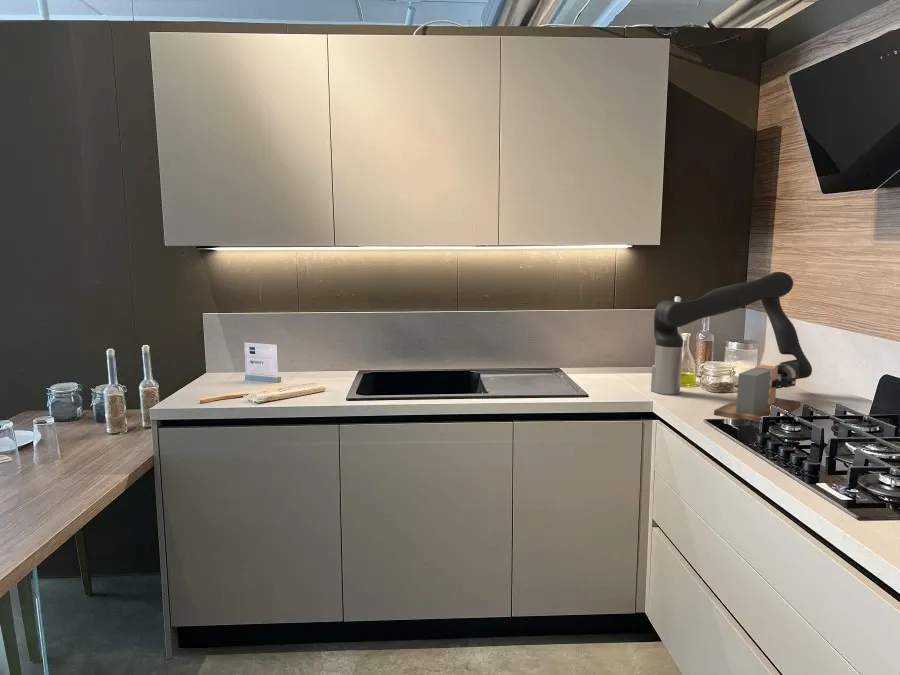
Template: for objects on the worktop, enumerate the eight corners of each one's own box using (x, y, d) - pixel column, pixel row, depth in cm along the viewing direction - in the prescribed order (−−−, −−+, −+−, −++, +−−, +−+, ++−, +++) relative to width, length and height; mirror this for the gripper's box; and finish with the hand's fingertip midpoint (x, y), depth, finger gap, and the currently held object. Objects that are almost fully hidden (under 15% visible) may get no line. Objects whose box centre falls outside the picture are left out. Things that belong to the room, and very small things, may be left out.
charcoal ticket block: (736, 411, 192) (738, 373, 190) (751, 403, 202) (754, 367, 200) (753, 414, 188) (756, 376, 187) (768, 406, 198) (771, 370, 197)
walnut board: (713, 414, 194) (714, 410, 194) (750, 397, 217) (750, 393, 216) (768, 425, 183) (769, 420, 183) (800, 406, 206) (800, 401, 205)
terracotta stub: (752, 402, 202) (755, 366, 201) (758, 399, 207) (761, 364, 205) (768, 405, 199) (771, 369, 197) (774, 402, 203) (777, 366, 202)
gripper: (759, 362, 217) (741, 368, 205) (804, 368, 207) (788, 375, 195) (757, 383, 218) (739, 390, 206) (802, 389, 208) (786, 398, 196)
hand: (763, 383), depth 201 cm, fingers closed on terracotta stub, 5 cm apart
